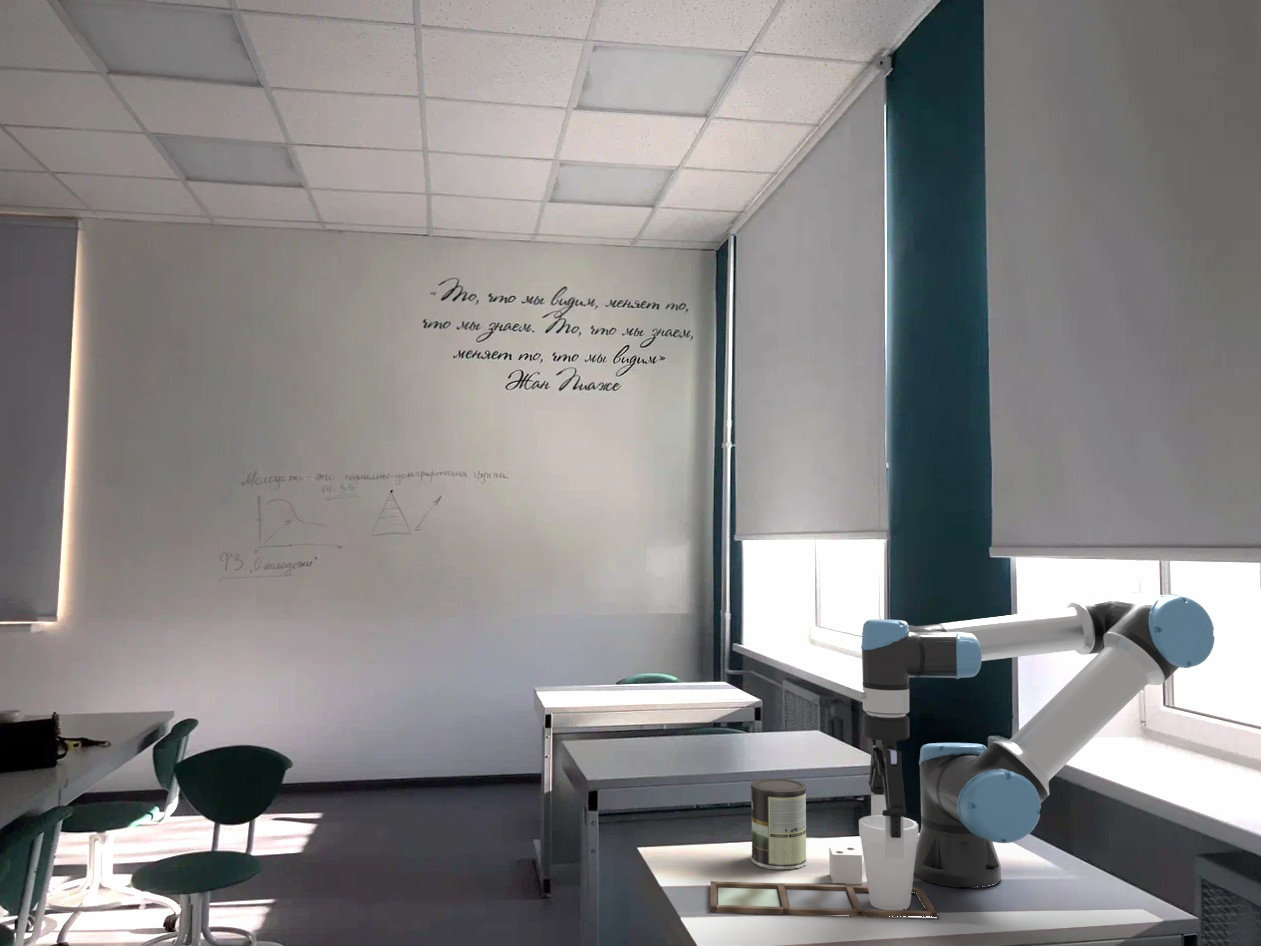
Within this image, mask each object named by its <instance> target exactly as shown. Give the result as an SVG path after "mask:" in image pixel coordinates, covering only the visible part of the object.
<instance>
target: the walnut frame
mask: <svg viewBox="0 0 1261 946" xmlns="http://www.w3.org/2000/svg"><path fill="white" fill-rule="evenodd" d="M709 881H710V880H709ZM709 886H710V888H709V889H710V894H709V895H710V897H709V899H710V901H709V902H710V903H709V904H710V909H709V910H710V913H724V914H725V913H727V914H728V913H733V914H761V915H764V914H765V915H767V914H769V915H789V916H790V915H793V916H821V915H849V916H848V917H853V916H863V917H862V918H885V917H889V916H890V917H892V916H893V917H897V916H898V917H900V916H901V917H903V916H906V917H908V916H922V917H923V916H924V917H926V916H930V917H931V916H932V917H939V915H938V912H937V910H936V909H935V908H934V906H933V904H932V903H931V901H930V900H929V898H928V896H927V895H926V893H925V892H924V890H923V889H922V887H920V886H912V892H913V893H914V892H915V893H917V895H918V896H919V898H920V900H921V901H920V900H919V901H920V903H921V902H922V903H923V905H924V906H925V908H926V910H927V911H926V910H902V911H901V910H882V909H867V908H866V909H865V908H864V909H863V908H862V906H861V903H860V901H859V898H858V897H857V894H856V893H865V892H868V885H860V884H822V883H821V884H818V883H788V882H787V883H785V882H784V883H783V882H779V883H777V882H750V881H749V882H748V881H747V882H746V881H717V880H716V881H715V880H714V881H710V885H709ZM846 891H847V892H846ZM847 893H848V894H847ZM917 895H916V896H917ZM849 898H850V899H849ZM919 898H918V899H919ZM851 903H852V904H851ZM922 903H921V904H922ZM923 905H922V906H923ZM924 906H923V907H924ZM853 908H854V909H853ZM925 908H924V909H925ZM864 916H866V917H864Z"/></svg>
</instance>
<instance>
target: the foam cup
mask: <svg viewBox="0 0 1261 946" xmlns="http://www.w3.org/2000/svg"><path fill="white" fill-rule="evenodd" d="M903 832H904V858H886V856H885V816H883V815H872V816H871V815H867V816H863V817H861V818H859V819H858V835H859V837H860V841H861V847H862V857H863V862H864V869H865V877H866V884H867V885H866V886H868V892H869V893H868V898H869V904H870V905H871V906H872V907H874V908H876V909H878V910H901V909H905V908H908V907H909V906H911V902H912V901H911V900H912V894H911V893H912V887H913V883H914V882H913V881H914V875H915V874H914V866H915V856H916V847H917V841H918V840H919V838H918V837H919V824H918V823H917V821H916V820H913V819H910V818H909V817H908V818H907V817H904V816H903ZM909 908H910V907H909ZM909 908H908V909H909ZM905 910H906V909H905Z"/></svg>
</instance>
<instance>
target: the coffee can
mask: <svg viewBox="0 0 1261 946" xmlns="http://www.w3.org/2000/svg"><path fill="white" fill-rule="evenodd" d="M750 789H751V792H750V793H751V797H750V798H751V801H750V802H751V863H752V864H753V865H755V864H756V865H755V866H757V865H758V866H757V867H759V866H761V867H760V868H762V867H764V868H763V869H766V868H769V869H768V870H772V869H793V870H795V869H794V868H798V867H802V866H804V865H805V864H806V863H807V862H808V861H807V815H806V814H807V811H806V810H807V805H806V803H807V802H806V799H807V798H806V791H807V785H806V784H805V783H804V782H801V781H799V780H795V779H789V778H788V779H787V778H762V779H757V780H755V781H751V783H750ZM806 865H807V864H806ZM806 865H805V866H806ZM805 866H804V867H805ZM802 868H803V867H802Z"/></svg>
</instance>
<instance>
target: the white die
mask: <svg viewBox="0 0 1261 946" xmlns="http://www.w3.org/2000/svg"><path fill="white" fill-rule="evenodd" d="M828 847H829V849H828V851H829V852H828V853H829V877H830V876H831V877H830V879H831V882H832V881H833V882H832V884H833V883H846V884H845V885H861V884H862V885H863V854H862V853H861V851H860V848H859V847H858V846H838V845H837V846H836V845H835V846H833V845H829V846H828Z"/></svg>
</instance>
